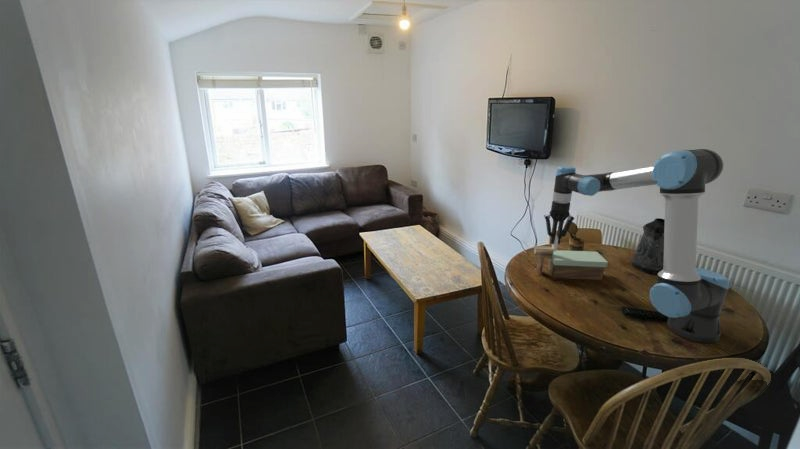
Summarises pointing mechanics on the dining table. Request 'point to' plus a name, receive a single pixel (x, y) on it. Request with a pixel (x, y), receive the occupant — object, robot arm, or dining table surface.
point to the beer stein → (650, 248)
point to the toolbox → (569, 270)
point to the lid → (578, 258)
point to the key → (543, 250)
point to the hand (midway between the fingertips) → (554, 250)
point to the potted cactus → (575, 239)
